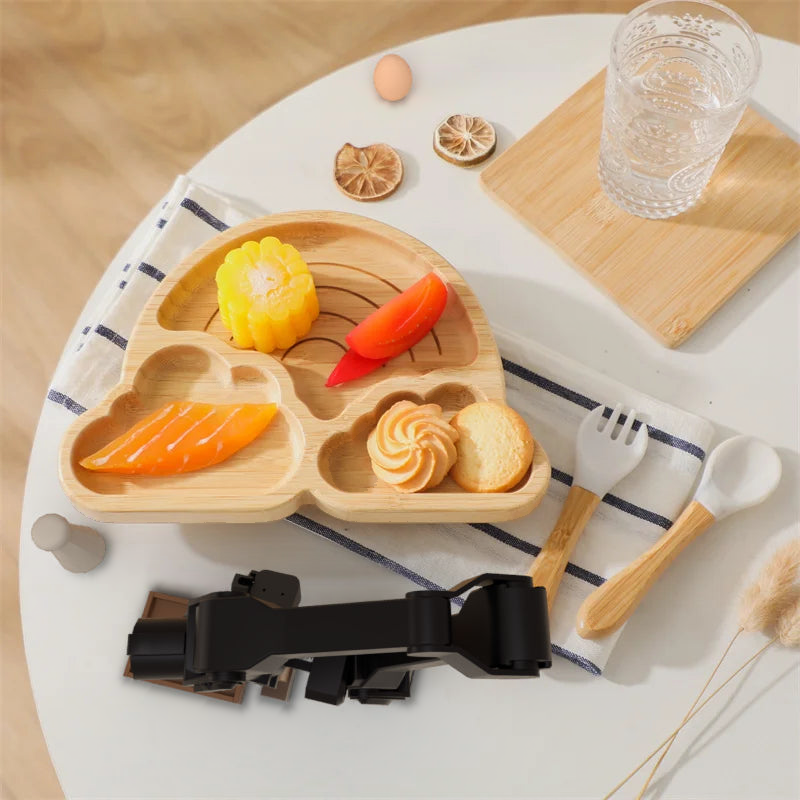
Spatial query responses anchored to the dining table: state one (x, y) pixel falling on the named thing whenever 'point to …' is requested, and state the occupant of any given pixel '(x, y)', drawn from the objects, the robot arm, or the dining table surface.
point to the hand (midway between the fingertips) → (277, 663)
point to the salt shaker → (69, 542)
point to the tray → (177, 607)
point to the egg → (392, 77)
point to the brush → (281, 686)
